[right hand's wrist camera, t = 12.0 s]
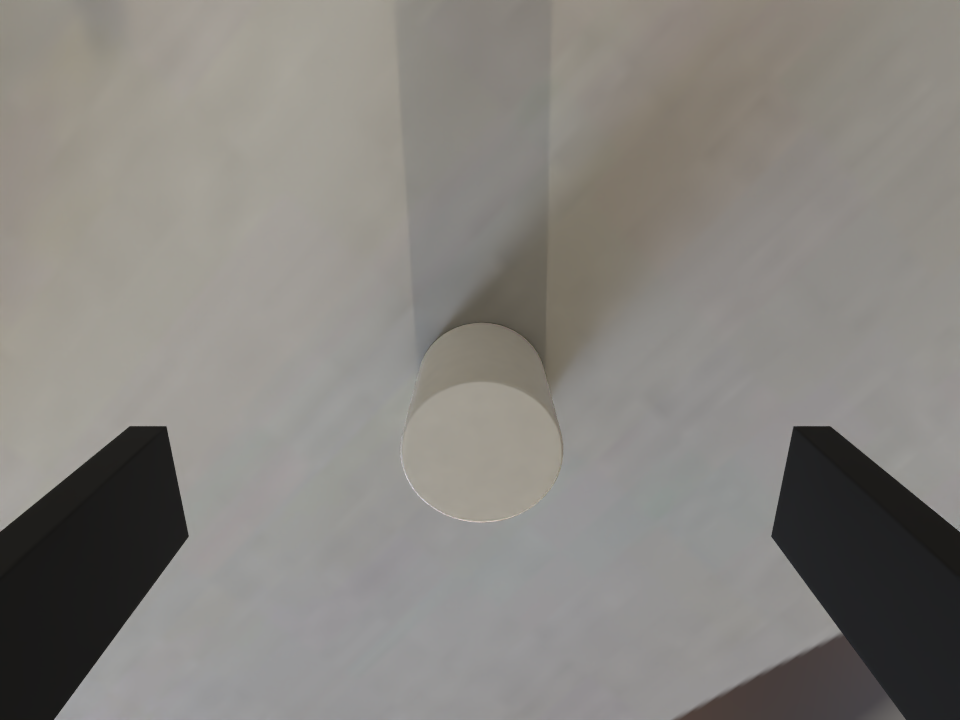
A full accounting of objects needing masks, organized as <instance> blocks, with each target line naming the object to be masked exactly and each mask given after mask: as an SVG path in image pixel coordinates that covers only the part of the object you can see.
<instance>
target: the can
mask: <svg viewBox="0 0 960 720" xmlns="http://www.w3.org/2000/svg"><path fill="white" fill-rule="evenodd" d="M400 456H401V463H402V467H403V470H404V473H405V475H406V478H407V480H408V482H409V483H410V485H411V487H412V488H413V490H414V491H415V492H416V493H417V494H418V496H419V497H420V498H421V499H422V500H423V501H424V502H426V503H427V504H428V505H429V506H431V507H432V508H434V509H435V510H437V511H439V512H441V513H442V514H445V515H447V516H450V517H452V518H455V519H459V520H463V521H469V522H494V521H500V520H505V519H508V518H512V517H514V516H516V515H519V514H521V513H523V512H525V511H526V510H528V509H530V508H531V507H533V506H534V505H535V504H537V503H538V502H539V501H540V500H541V499H542V498H543V497H544V496H545V495H546V494H547V493H548V491H549V490H550V489H551V487H552V486H553V484H554V482H555V481H556V479H557V477H558V474H559V472H560V469H561V465H562V460H563V440H562V435H561V431H560V427H559V423H558V420H557V416H556V412H555V408H554V405H553V401H552V397H551V393H550V390H549V386H548V382H547V378H546V375H545V371H544V367H543V364H542V361H541V359H540V357H539V355H538V353H537V352H536V350H535V349H534V347H533V346H532V345H531V344H530V343H529V342H528V341H527V340H526V339H525V338H524V337H523V336H521V335H520V334H518V333H517V332H515V331H513V330H511V329H509V328H507V327H504V326H501V325H497V324H492V323H471V324H466V325H462V326H459V327H456V328H454V329H452V330H450V331H448V332H447V333H445V334H443V335H442V336H441V337H440V338H438V339H437V340H436V341H435V342H434V343H433V344H432V345H431V346H430V348H429V349H428V351H427V352H426V354H425V356H424V358H423V360H422V362H421V365H420V368H419V372H418V376H417V380H416V383H415V387H414V391H413V395H412V399H411V402H410V406H409V410H408V414H407V417H406V421H405V425H404V429H403V433H402V437H401V443H400Z"/></svg>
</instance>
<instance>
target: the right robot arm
mask: <svg viewBox="0 0 960 720" xmlns="http://www.w3.org/2000/svg"><path fill="white" fill-rule="evenodd" d="M188 537H189V535H188V531H187V526H186V521H185V516H184V511H183V506H182V501H181V496H180V491H179V486H178V481H177V476H176V471H175V466H174V462H173V457H172V452H171V447H170V442H169V437H168V432H167V427H166V426H130V427H128V428H127V429H126V430H125V431H124V432H122V433H121V434H120V435H119V436H117V437H116V438H115V439H114V440H112V441H111V442H110V443H109V444H108V445H106V446H105V447H104V448H103V449H101V450H100V451H99V452H98V453H97V454H95V455H94V456H93V457H92V458H90V459H89V460H88V461H87V462H85V463H84V464H83V465H82V466H81V467H79V468H78V469H77V470H76V471H74V472H73V473H72V474H71V475H70V476H68V477H67V478H66V479H65V480H63V481H62V482H61V483H60V484H59V485H57V486H56V487H55V488H54V489H52V490H51V491H50V492H49V493H47V494H46V495H45V496H44V497H43V498H41V499H40V500H39V501H38V502H36V503H35V504H34V505H33V506H32V507H30V508H29V509H28V510H27V511H25V512H24V513H23V514H22V515H20V516H19V517H18V518H17V519H16V520H14V521H13V522H12V523H11V524H9V525H8V526H7V527H6V528H5V529H3V530H2V531H1V532H0V720H54V719H55V717H56V716H57V715H58V713H59V712H60V711H61V709H62V708H63V707H64V705H65V704H66V702H67V701H68V700H69V698H70V697H71V696H72V694H73V693H74V692H75V690H76V689H77V688H78V686H79V685H80V683H81V682H82V681H83V679H84V678H85V677H86V675H87V674H88V673H89V671H90V670H91V669H92V667H93V666H94V664H95V663H96V662H97V660H98V659H99V658H100V656H101V655H102V654H103V652H104V651H105V650H106V648H107V647H108V645H109V644H110V643H111V641H112V640H113V639H114V637H115V636H116V635H117V633H118V632H119V630H120V629H121V628H122V626H123V625H124V624H125V622H126V621H127V620H128V618H129V617H130V616H131V614H132V613H133V611H134V610H135V609H136V607H137V606H138V605H139V603H140V602H141V601H142V599H143V598H144V597H145V595H146V594H147V592H148V591H149V590H150V588H151V587H152V586H153V584H154V583H155V582H156V580H157V579H158V578H159V576H160V575H161V573H162V572H163V571H164V569H165V568H166V567H167V565H168V564H169V563H170V561H171V560H172V558H173V557H174V556H175V554H176V553H177V552H178V550H179V549H180V548H181V546H182V545H183V544H184V542H185V541H186V539H187V538H188ZM771 537H772V538H773V539H774V541H775V542H776V544H777V545H778V546H779V548H780V549H781V550H782V552H783V553H784V554H785V556H786V557H787V559H788V560H789V561H790V563H791V564H792V565H793V567H794V568H795V569H796V571H797V572H798V573H799V575H800V576H801V578H802V579H803V580H804V582H805V583H806V584H807V586H808V587H809V588H810V590H811V591H812V592H813V594H814V595H815V597H816V598H817V599H818V601H819V602H820V603H821V605H822V606H823V607H824V609H825V610H826V611H827V613H828V614H829V616H830V617H831V618H832V620H833V621H834V622H835V624H836V625H837V626H838V628H839V629H840V630H841V632H842V633H843V635H844V636H845V637H846V639H847V640H848V641H849V643H850V644H851V645H852V647H853V648H854V650H855V651H856V652H857V654H858V655H859V656H860V658H861V659H862V660H863V662H864V663H865V664H866V666H867V667H868V669H869V670H870V671H871V673H872V674H873V675H874V677H875V678H876V679H877V681H878V682H879V683H880V685H881V686H882V688H883V689H884V690H885V692H886V693H887V694H888V696H889V697H890V698H891V700H892V701H893V702H894V704H895V705H896V707H897V708H898V709H899V711H900V712H901V713H902V715H903V716H904V717H905V719H906V720H960V532H959V531H958V530H957V529H955V528H954V527H953V526H952V525H951V524H949V523H948V522H947V521H946V520H944V519H943V518H942V517H941V516H940V515H938V514H937V513H936V512H935V511H933V510H932V509H931V508H930V507H928V506H927V505H926V504H925V503H924V502H922V501H921V500H920V499H919V498H917V497H916V496H915V495H914V494H913V493H911V492H910V491H909V490H908V489H906V488H905V487H904V486H903V485H901V484H900V483H899V482H898V481H897V480H895V479H894V478H893V477H892V476H890V475H889V474H888V473H887V472H886V471H884V470H883V469H882V468H881V467H879V466H878V465H877V464H876V463H875V462H873V461H872V460H871V459H870V458H868V457H867V456H866V455H865V454H863V453H862V452H861V451H860V450H859V449H857V448H856V447H855V446H854V445H852V444H851V443H850V442H849V441H848V440H846V439H845V438H844V437H843V436H841V435H840V434H839V433H838V432H836V431H835V430H834V429H833V428H832V427H830V426H794V427H793V432H792V437H791V442H790V447H789V452H788V457H787V462H786V466H785V471H784V476H783V481H782V486H781V491H780V496H779V501H778V506H777V511H776V516H775V521H774V526H773V531H772V535H771Z"/></svg>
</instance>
